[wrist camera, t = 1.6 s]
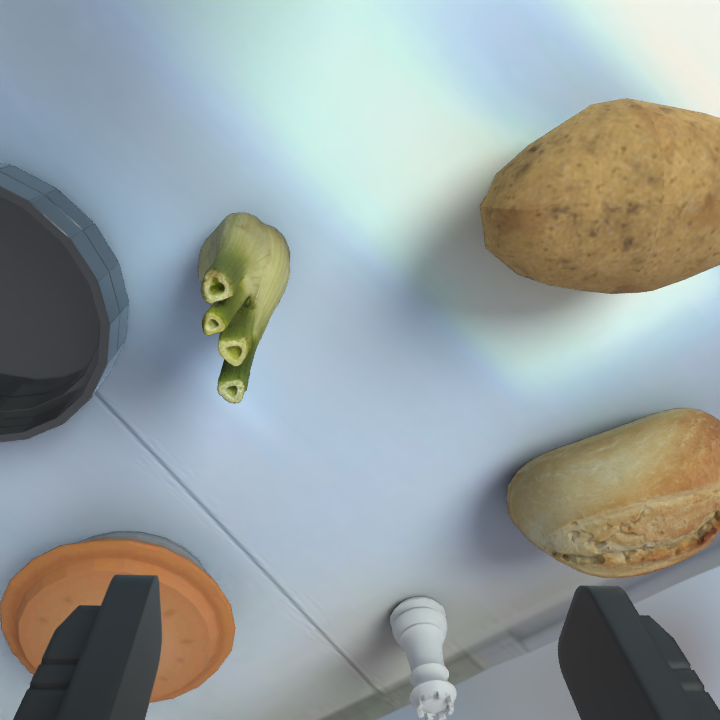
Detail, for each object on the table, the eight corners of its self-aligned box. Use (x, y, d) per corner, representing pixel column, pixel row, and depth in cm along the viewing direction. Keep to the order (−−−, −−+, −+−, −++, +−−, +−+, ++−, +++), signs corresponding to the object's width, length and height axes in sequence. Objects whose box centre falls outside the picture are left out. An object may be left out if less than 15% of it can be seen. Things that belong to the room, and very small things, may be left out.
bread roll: (718, 467, 43) (799, 544, 36) (526, 547, 45) (566, 635, 38) (688, 360, 39) (773, 423, 32) (479, 454, 41) (515, 532, 34)
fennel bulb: (270, 317, 36) (251, 418, 25) (190, 286, 35) (135, 379, 24) (306, 228, 34) (303, 297, 23) (223, 193, 33) (178, 248, 22)
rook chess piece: (396, 639, 48) (411, 737, 41) (383, 601, 47) (395, 696, 39) (450, 626, 48) (474, 722, 41) (438, 587, 46) (461, 680, 39)
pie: (279, 612, 46) (275, 670, 42) (114, 687, 48) (94, 749, 44) (159, 470, 40) (139, 519, 36) (-24, 563, 42) (-64, 621, 38)
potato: (457, 108, 32) (499, 116, 25) (715, 85, 32) (831, 87, 25) (458, 283, 36) (495, 334, 29) (687, 261, 36) (779, 306, 29)
